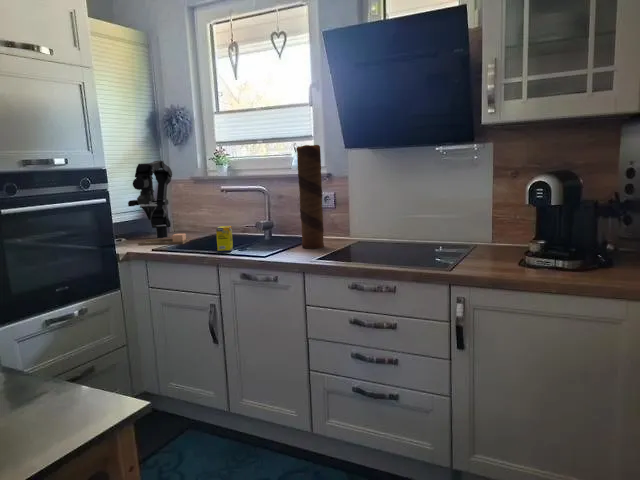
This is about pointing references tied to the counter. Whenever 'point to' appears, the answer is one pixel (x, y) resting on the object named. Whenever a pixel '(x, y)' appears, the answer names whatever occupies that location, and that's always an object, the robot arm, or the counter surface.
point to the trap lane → (163, 242)
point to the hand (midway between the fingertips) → (149, 219)
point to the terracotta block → (178, 237)
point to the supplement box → (224, 239)
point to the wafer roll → (310, 195)
